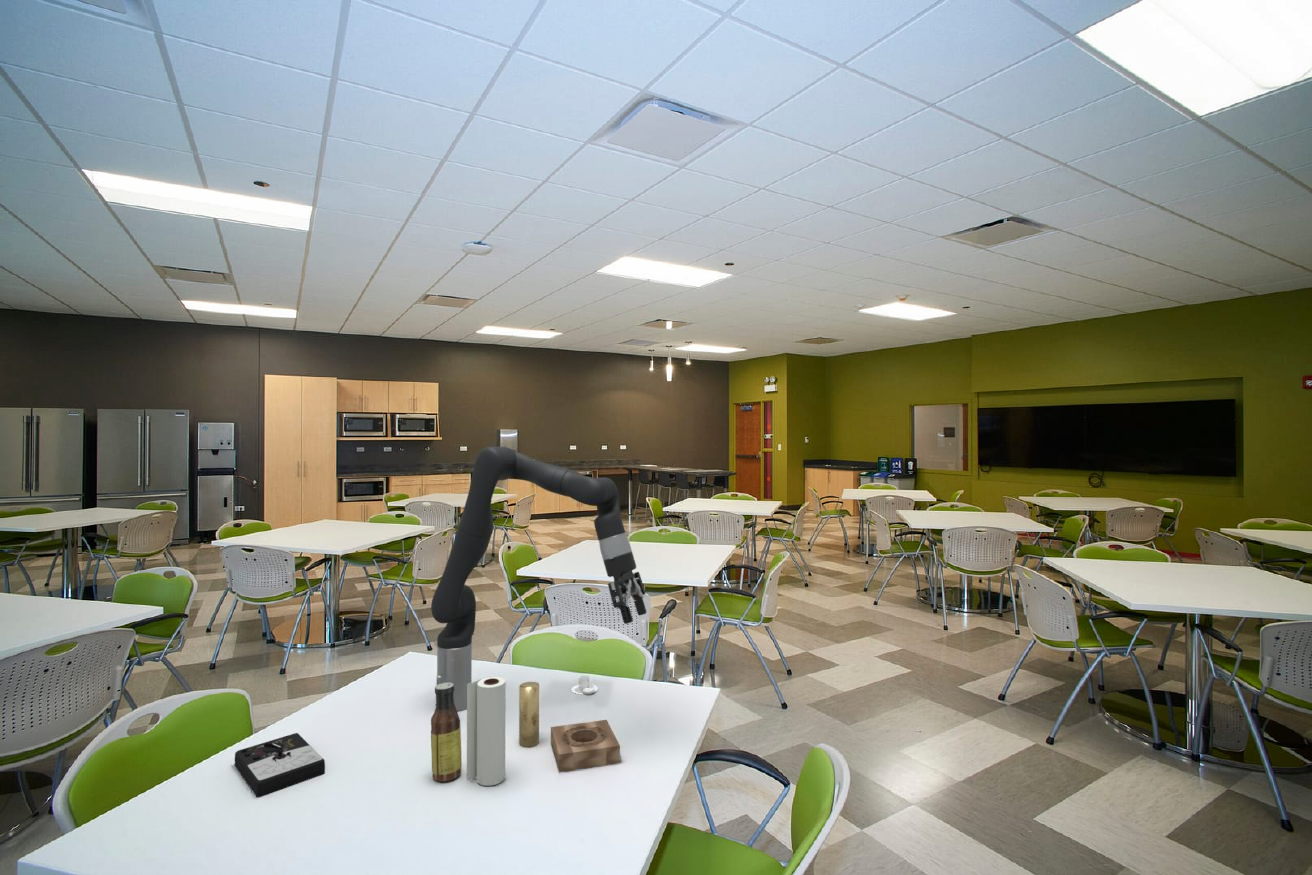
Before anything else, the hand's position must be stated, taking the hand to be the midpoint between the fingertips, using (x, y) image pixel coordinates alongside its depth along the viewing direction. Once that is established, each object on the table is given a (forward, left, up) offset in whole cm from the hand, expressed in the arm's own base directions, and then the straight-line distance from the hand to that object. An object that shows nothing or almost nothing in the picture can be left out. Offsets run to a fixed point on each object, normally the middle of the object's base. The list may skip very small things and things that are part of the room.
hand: (635, 618), depth 151 cm
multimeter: (-80, +12, -31) cm, 87 cm away
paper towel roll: (-35, -6, -31) cm, 47 cm away
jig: (-13, -1, -30) cm, 33 cm away
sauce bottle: (-44, -2, -31) cm, 54 cm away
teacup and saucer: (-8, +35, -31) cm, 47 cm away
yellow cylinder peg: (-25, +8, -30) cm, 40 cm away
